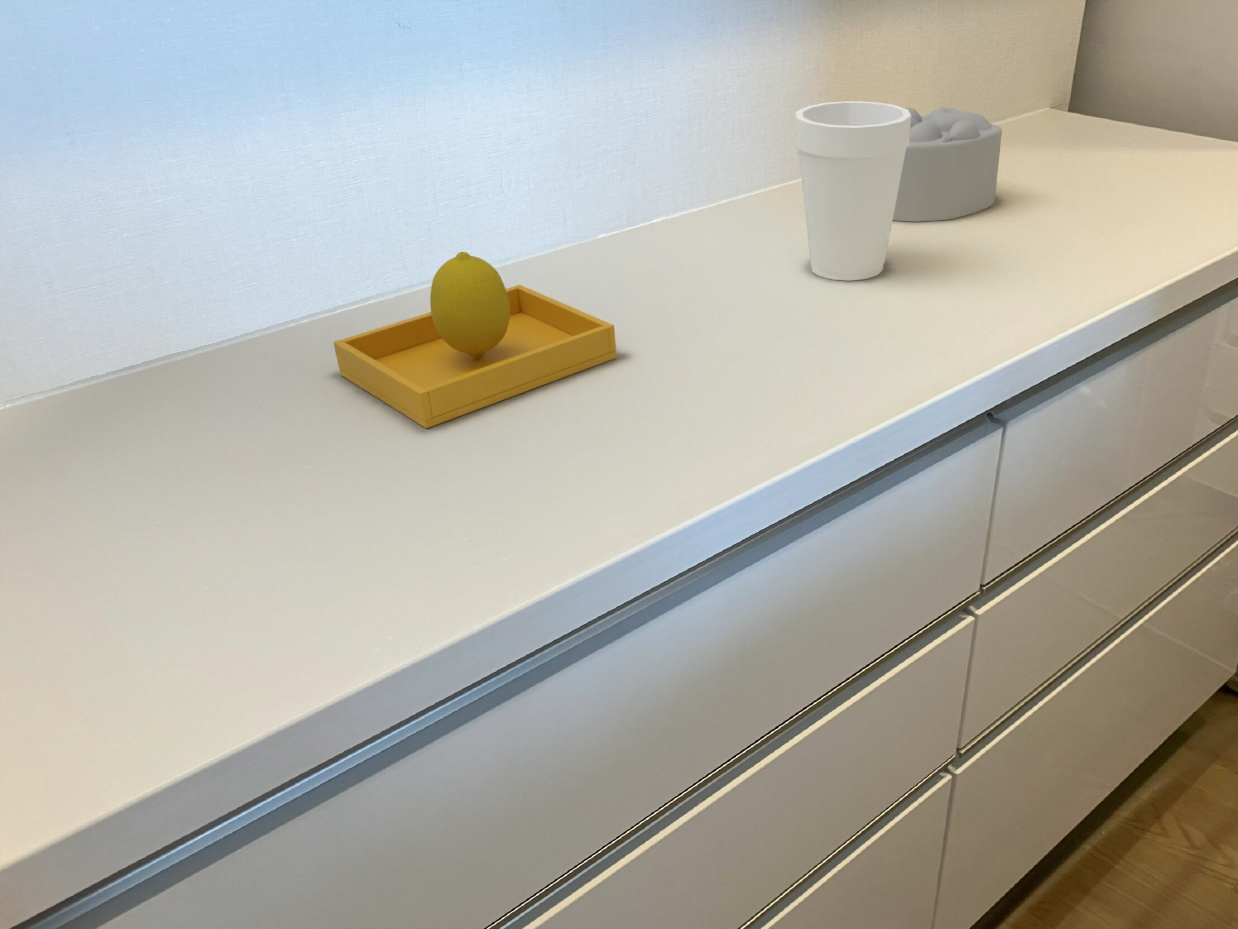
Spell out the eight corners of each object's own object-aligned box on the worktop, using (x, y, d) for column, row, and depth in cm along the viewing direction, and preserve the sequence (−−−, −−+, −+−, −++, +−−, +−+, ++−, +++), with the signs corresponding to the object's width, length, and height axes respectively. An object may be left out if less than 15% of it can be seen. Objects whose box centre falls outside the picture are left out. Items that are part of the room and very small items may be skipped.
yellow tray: (426, 429, 76) (419, 393, 75) (340, 374, 84) (332, 341, 83) (616, 358, 85) (614, 325, 84) (523, 315, 93) (519, 284, 92)
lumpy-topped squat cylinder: (1008, 201, 116) (1018, 112, 111) (920, 229, 109) (927, 135, 104) (930, 181, 122) (937, 96, 118) (843, 206, 116) (847, 117, 111)
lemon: (486, 337, 88) (471, 234, 83) (530, 356, 84) (518, 250, 80) (424, 359, 84) (406, 254, 80) (468, 380, 81) (452, 271, 77)
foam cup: (808, 291, 96) (811, 131, 89) (781, 255, 104) (782, 105, 97) (916, 280, 97) (927, 122, 90) (881, 246, 105) (890, 98, 98)
